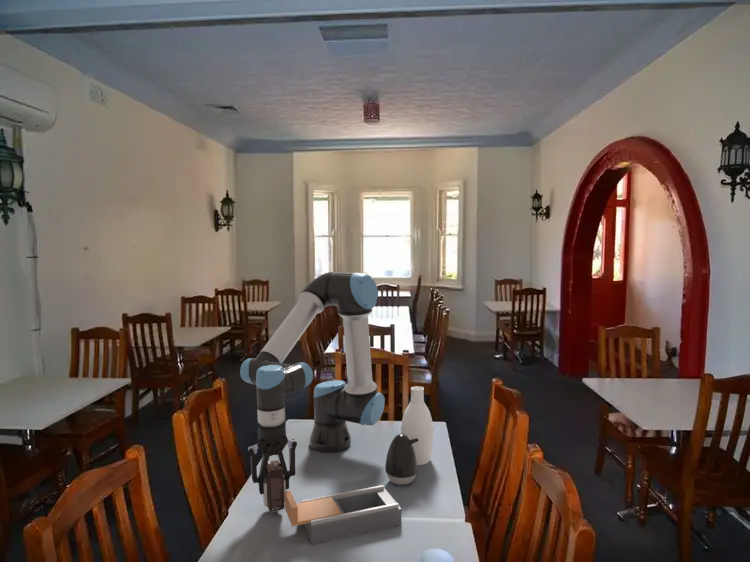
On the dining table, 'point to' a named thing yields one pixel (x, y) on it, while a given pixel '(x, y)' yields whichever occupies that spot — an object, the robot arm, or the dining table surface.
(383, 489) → the grey sliding-lid case
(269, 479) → the box
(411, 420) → the bottle
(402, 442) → the pump dispenser
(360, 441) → the dining table surface
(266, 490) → the robot arm
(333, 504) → the shutter
